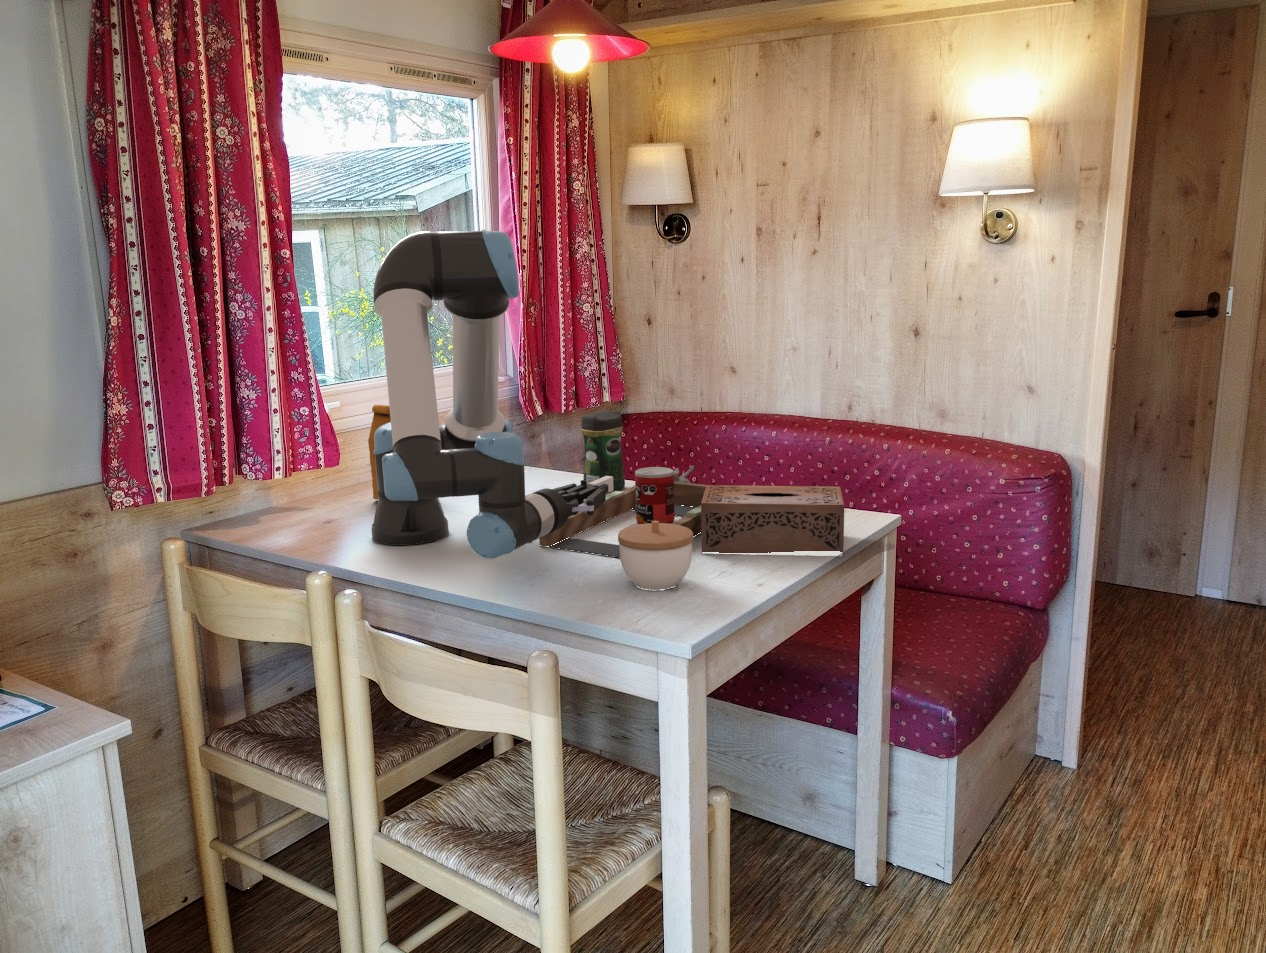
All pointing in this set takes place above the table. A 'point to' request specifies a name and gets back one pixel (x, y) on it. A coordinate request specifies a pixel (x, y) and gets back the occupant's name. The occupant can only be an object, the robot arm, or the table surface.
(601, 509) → the lane box
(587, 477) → the coffee jar
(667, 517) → the canned food
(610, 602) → the table surface
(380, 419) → the coffee package
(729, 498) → the tissue box cover
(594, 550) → the near trap pad
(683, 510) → the pad
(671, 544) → the lidded bowl
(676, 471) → the grey toy figurine
